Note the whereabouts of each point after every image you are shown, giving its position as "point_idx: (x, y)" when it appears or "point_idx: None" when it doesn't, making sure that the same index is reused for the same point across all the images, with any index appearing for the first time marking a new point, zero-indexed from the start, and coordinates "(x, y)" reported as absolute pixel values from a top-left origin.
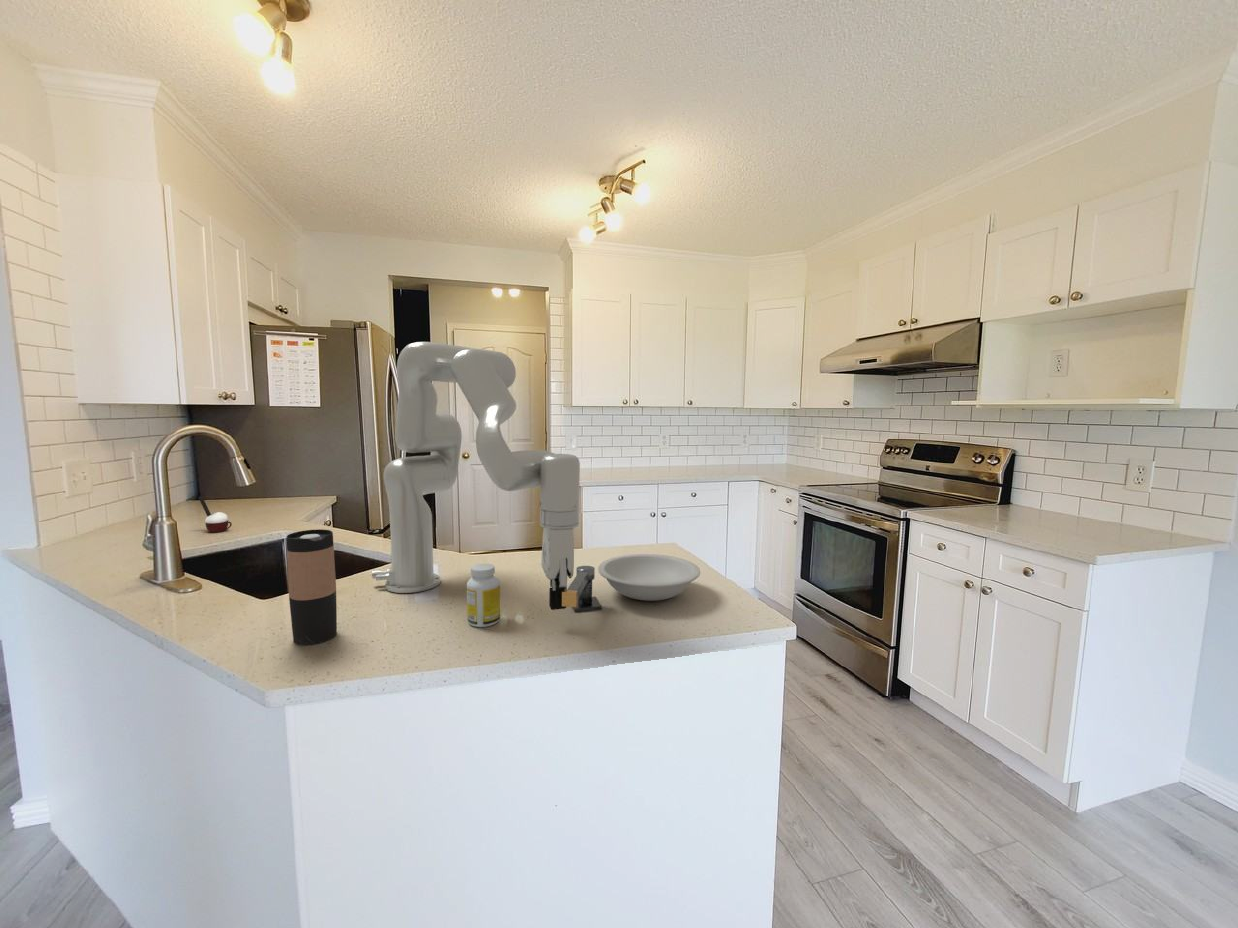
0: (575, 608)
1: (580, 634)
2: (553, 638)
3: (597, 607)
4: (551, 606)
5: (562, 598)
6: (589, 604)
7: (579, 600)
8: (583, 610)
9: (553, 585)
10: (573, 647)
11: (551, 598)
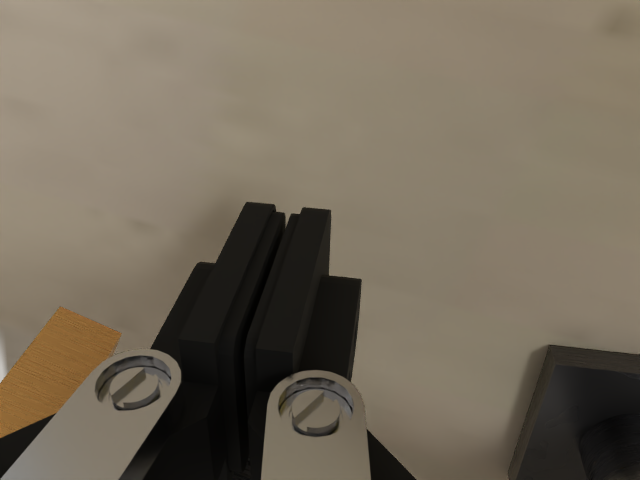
0: (558, 368)
1: (186, 274)
2: (155, 101)
3: (516, 469)
4: (242, 221)
5: (11, 369)
6: (578, 453)
7: (637, 433)
8: (534, 395)
9: (50, 425)
10: (9, 187)
11: (216, 273)
